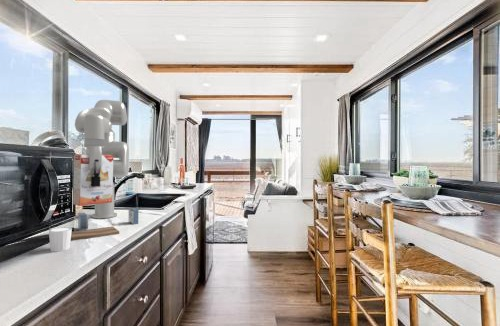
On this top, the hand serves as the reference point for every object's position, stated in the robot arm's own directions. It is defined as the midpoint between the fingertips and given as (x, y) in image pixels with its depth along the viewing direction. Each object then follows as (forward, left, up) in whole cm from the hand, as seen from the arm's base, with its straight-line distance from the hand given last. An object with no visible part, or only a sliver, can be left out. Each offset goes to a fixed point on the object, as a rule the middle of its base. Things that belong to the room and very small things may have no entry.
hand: (93, 185), depth 118 cm
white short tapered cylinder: (+15, -13, -21) cm, 29 cm away
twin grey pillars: (-12, +9, -21) cm, 26 cm away
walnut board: (0, 0, -21) cm, 21 cm away
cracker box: (0, 0, -8) cm, 8 cm away
